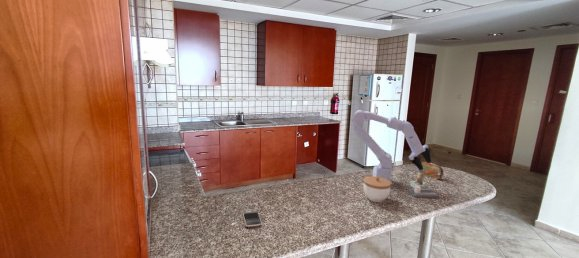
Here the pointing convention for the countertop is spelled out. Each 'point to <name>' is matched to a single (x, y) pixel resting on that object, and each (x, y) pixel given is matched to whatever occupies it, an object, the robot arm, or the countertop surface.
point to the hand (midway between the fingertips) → (425, 165)
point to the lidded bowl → (376, 188)
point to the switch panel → (424, 193)
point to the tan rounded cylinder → (420, 179)
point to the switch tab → (417, 189)
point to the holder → (424, 186)
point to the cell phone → (252, 219)
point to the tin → (432, 170)
